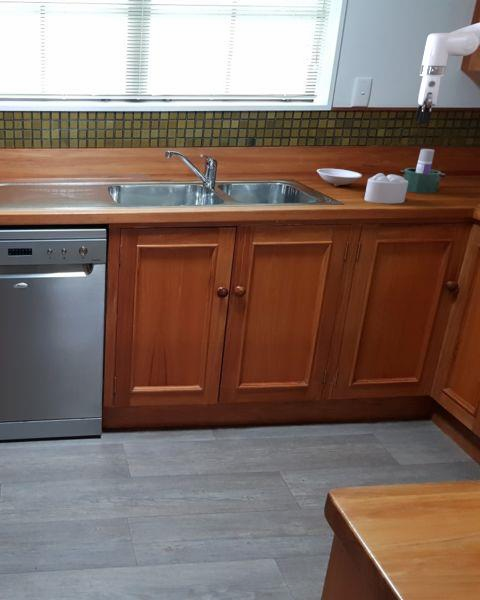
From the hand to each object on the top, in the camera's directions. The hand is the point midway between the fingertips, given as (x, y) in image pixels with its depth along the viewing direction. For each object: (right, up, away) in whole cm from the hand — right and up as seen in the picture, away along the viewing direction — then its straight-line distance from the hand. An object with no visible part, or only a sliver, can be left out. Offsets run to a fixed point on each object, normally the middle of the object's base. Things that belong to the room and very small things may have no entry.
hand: (421, 122), depth 218 cm
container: (+6, -22, +13) cm, 26 cm away
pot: (+6, -22, +13) cm, 26 cm away
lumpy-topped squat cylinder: (-16, -29, -3) cm, 33 cm away
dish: (-23, -20, +18) cm, 35 cm away
